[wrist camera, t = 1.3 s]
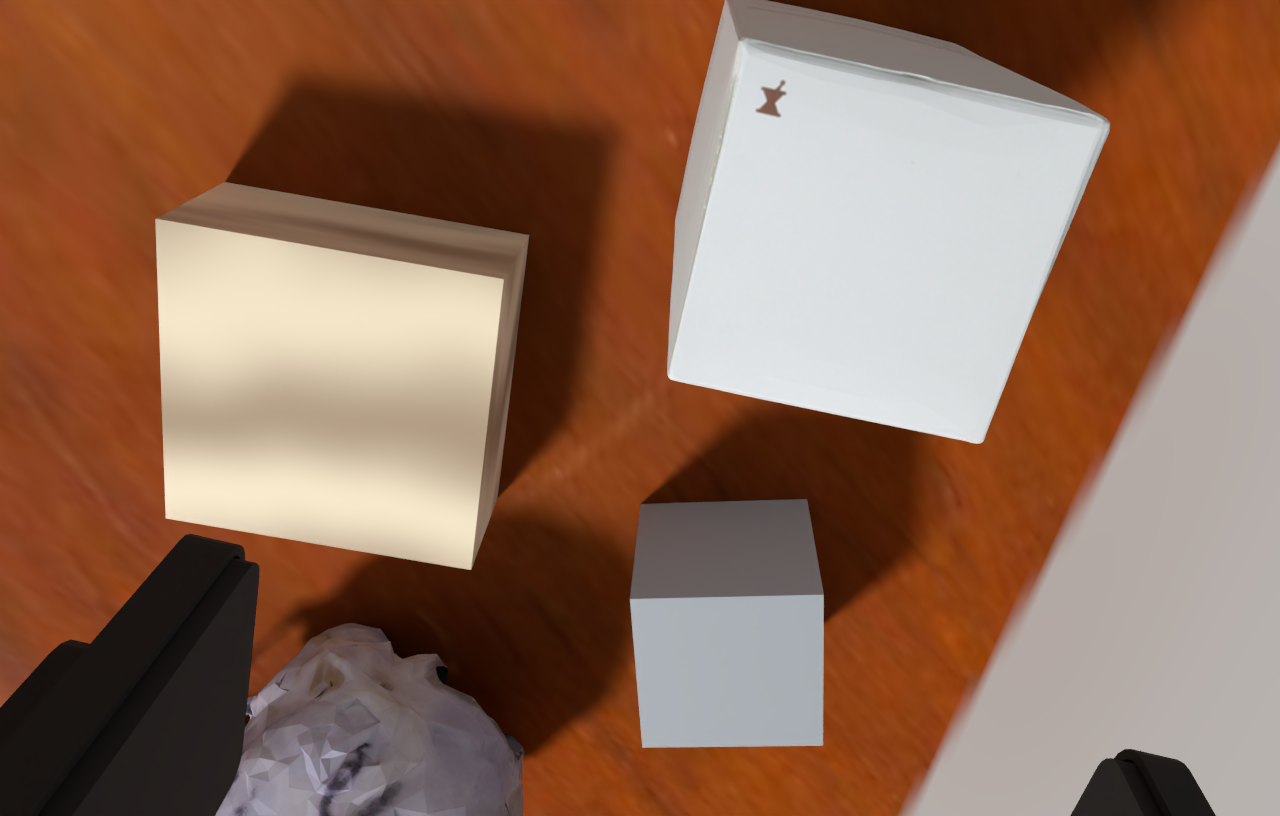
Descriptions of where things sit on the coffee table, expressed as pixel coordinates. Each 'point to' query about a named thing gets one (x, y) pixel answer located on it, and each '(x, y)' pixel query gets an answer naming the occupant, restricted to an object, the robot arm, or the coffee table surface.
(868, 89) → the supplement box
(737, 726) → the slate block
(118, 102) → the coffee table surface
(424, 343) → the maple block
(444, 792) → the skull
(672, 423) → the coffee table surface
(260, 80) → the coffee table surface
